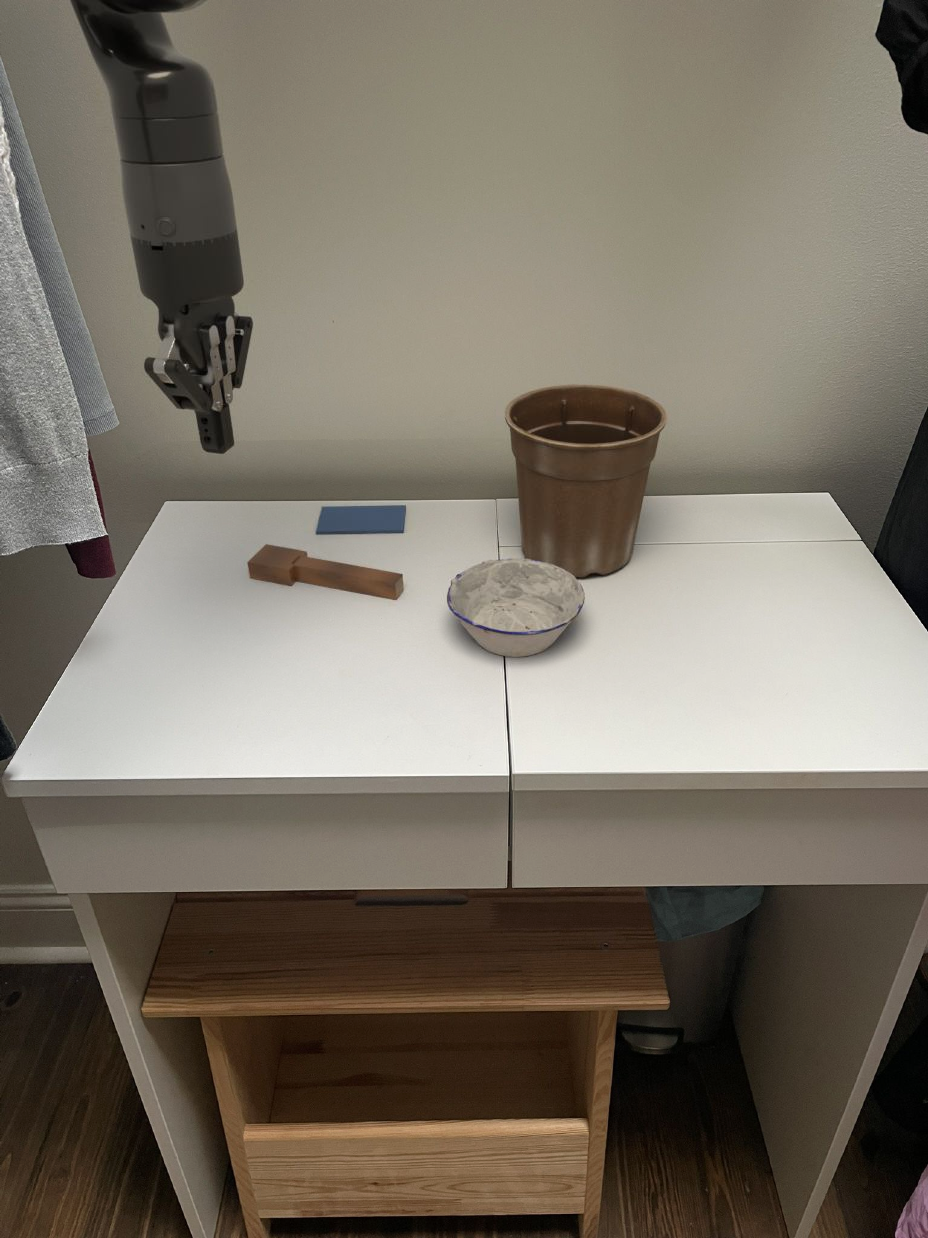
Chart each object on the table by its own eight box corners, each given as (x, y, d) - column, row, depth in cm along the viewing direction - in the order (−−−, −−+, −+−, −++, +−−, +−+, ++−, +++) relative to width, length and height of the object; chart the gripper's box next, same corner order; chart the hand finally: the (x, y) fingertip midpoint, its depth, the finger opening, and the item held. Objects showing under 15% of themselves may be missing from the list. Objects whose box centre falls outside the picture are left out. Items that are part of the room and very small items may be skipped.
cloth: (405, 507, 113) (405, 504, 113) (403, 532, 108) (403, 529, 108) (322, 509, 113) (321, 506, 113) (316, 534, 108) (315, 531, 108)
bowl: (444, 672, 87) (442, 629, 84) (452, 595, 97) (451, 555, 94) (586, 674, 86) (589, 631, 83) (578, 597, 96) (581, 556, 94)
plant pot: (533, 504, 113) (537, 373, 104) (667, 529, 107) (683, 393, 98) (480, 571, 101) (479, 429, 92) (628, 603, 95) (642, 456, 86)
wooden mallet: (407, 585, 99) (406, 568, 98) (392, 605, 96) (391, 588, 95) (268, 559, 104) (265, 543, 102) (249, 578, 100) (246, 562, 99)
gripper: (184, 205, 74) (217, 415, 84) (82, 242, 64) (133, 477, 73) (271, 210, 72) (294, 424, 82) (181, 249, 62) (220, 489, 71)
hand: (218, 449), depth 78 cm, fingers closed
